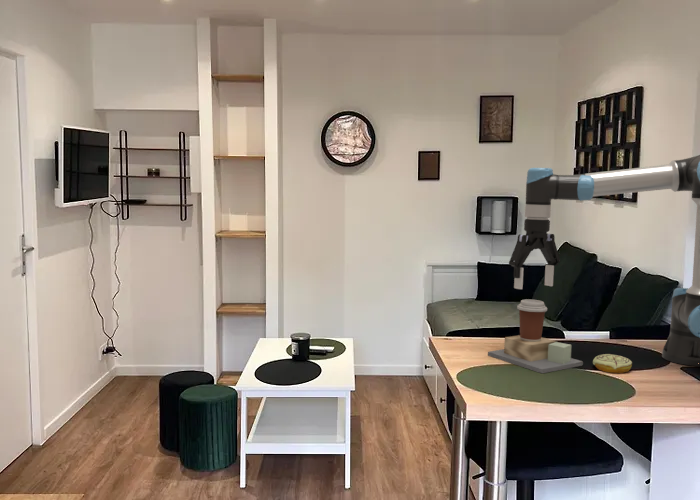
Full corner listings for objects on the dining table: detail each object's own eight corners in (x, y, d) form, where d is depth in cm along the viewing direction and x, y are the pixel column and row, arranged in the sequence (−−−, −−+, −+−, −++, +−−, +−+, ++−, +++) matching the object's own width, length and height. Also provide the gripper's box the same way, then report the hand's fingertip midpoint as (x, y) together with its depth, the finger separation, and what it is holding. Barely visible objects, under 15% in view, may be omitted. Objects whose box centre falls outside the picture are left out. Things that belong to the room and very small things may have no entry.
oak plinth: (555, 357, 204) (556, 341, 203) (530, 361, 198) (531, 345, 197) (528, 348, 213) (529, 333, 212) (503, 352, 207) (504, 337, 207)
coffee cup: (535, 344, 199) (537, 305, 197) (509, 338, 205) (511, 300, 204) (551, 340, 205) (553, 302, 203) (525, 334, 211) (527, 297, 210)
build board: (582, 365, 200) (582, 361, 199) (542, 373, 190) (542, 369, 190) (527, 348, 218) (527, 345, 218) (487, 355, 208) (487, 351, 208)
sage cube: (570, 360, 200) (571, 344, 199) (563, 364, 196) (564, 347, 195) (554, 357, 203) (555, 341, 202) (547, 360, 199) (548, 344, 199)
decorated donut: (586, 368, 197) (586, 355, 197) (605, 362, 204) (606, 350, 204) (618, 376, 189) (619, 363, 189) (637, 370, 196) (638, 358, 196)
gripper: (555, 217, 211) (551, 282, 213) (499, 218, 197) (495, 288, 200) (574, 218, 205) (570, 286, 207) (517, 219, 191) (514, 291, 193)
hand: (533, 287), depth 203 cm, fingers open, 13 cm apart
